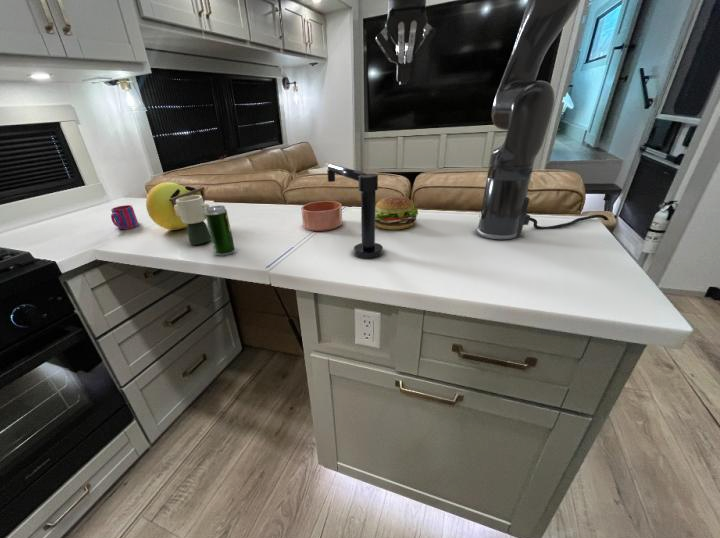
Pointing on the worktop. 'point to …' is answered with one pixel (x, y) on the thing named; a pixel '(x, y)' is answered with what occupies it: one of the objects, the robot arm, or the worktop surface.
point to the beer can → (220, 230)
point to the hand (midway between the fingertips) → (403, 84)
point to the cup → (124, 217)
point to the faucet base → (368, 229)
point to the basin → (322, 215)
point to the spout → (354, 177)
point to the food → (395, 213)
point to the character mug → (193, 217)
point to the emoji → (168, 204)
